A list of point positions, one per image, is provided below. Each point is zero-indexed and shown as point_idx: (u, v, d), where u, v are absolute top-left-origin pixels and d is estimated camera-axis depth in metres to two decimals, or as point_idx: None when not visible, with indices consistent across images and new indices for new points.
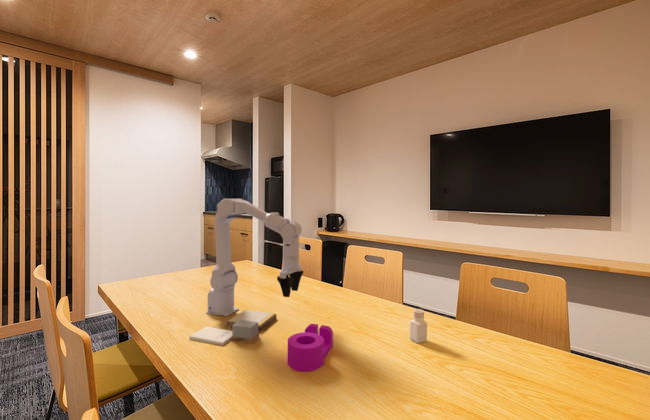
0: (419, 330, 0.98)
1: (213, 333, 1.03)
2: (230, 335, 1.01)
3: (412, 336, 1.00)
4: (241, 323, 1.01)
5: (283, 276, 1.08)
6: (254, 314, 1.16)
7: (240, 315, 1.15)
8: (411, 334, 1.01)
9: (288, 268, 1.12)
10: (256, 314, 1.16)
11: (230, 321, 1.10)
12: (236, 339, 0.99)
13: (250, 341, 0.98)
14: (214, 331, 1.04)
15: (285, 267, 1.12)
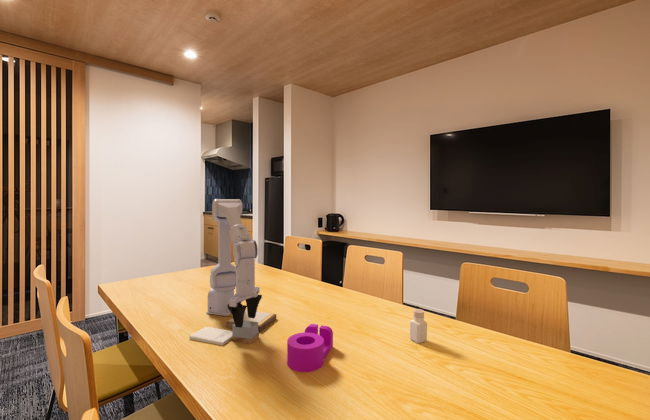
0: (419, 330, 0.98)
1: (213, 333, 1.03)
2: (230, 335, 1.01)
3: (412, 336, 1.00)
4: None
5: (233, 304, 0.93)
6: None
7: None
8: (411, 334, 1.01)
9: (241, 294, 0.97)
10: (256, 314, 1.16)
11: (230, 321, 1.10)
12: (236, 339, 0.99)
13: (250, 341, 0.98)
14: (214, 331, 1.04)
15: (238, 293, 0.98)
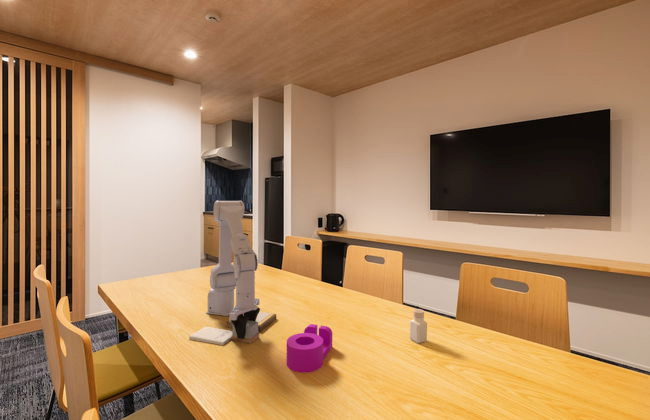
0: (419, 330, 0.98)
1: (213, 333, 1.03)
2: (230, 335, 1.01)
3: (412, 336, 1.00)
4: None
5: (233, 318, 0.93)
6: None
7: None
8: (411, 334, 1.01)
9: (241, 307, 0.98)
10: None
11: (230, 321, 1.10)
12: (236, 339, 0.99)
13: (250, 340, 0.98)
14: (214, 331, 1.04)
15: (238, 305, 0.98)
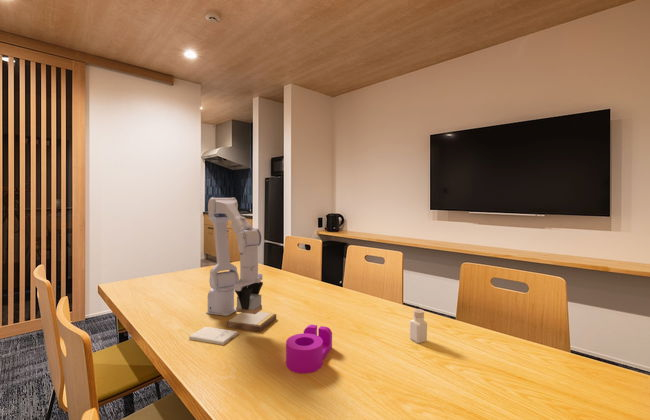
0: (419, 330, 0.98)
1: (213, 332, 1.03)
2: (230, 334, 1.02)
3: (412, 336, 1.00)
4: None
5: (238, 288, 0.99)
6: (254, 314, 1.16)
7: (240, 315, 1.15)
8: (411, 334, 1.01)
9: (245, 279, 1.03)
10: (256, 314, 1.16)
11: (230, 321, 1.10)
12: (240, 310, 1.05)
13: (254, 311, 1.03)
14: (214, 331, 1.04)
15: (242, 278, 1.04)
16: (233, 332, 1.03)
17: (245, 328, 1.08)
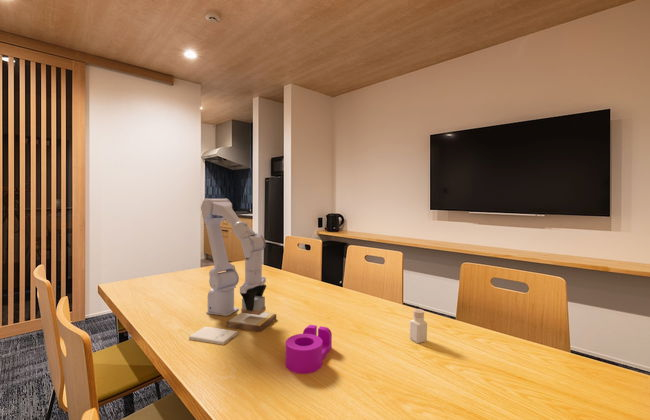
0: (419, 330, 0.98)
1: (213, 332, 1.03)
2: (230, 334, 1.02)
3: (412, 336, 1.00)
4: None
5: (243, 291, 1.06)
6: (254, 314, 1.16)
7: (240, 315, 1.15)
8: (411, 334, 1.01)
9: (250, 282, 1.10)
10: None
11: (230, 321, 1.10)
12: (245, 311, 1.12)
13: (258, 312, 1.10)
14: (214, 331, 1.04)
15: (247, 281, 1.11)
16: (233, 332, 1.03)
17: (245, 328, 1.08)
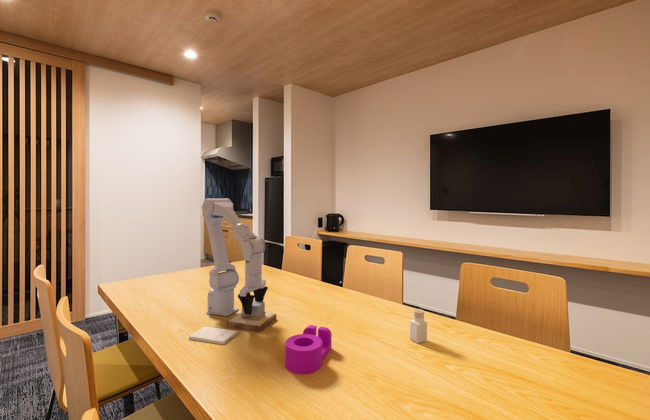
0: (419, 330, 0.98)
1: (213, 332, 1.03)
2: (230, 334, 1.02)
3: (412, 336, 1.00)
4: None
5: (243, 294, 1.06)
6: None
7: (240, 315, 1.15)
8: (411, 334, 1.01)
9: (250, 285, 1.10)
10: None
11: (230, 321, 1.10)
12: (245, 317, 1.12)
13: (258, 318, 1.10)
14: (214, 331, 1.04)
15: (247, 284, 1.11)
16: (233, 332, 1.04)
17: (245, 328, 1.08)
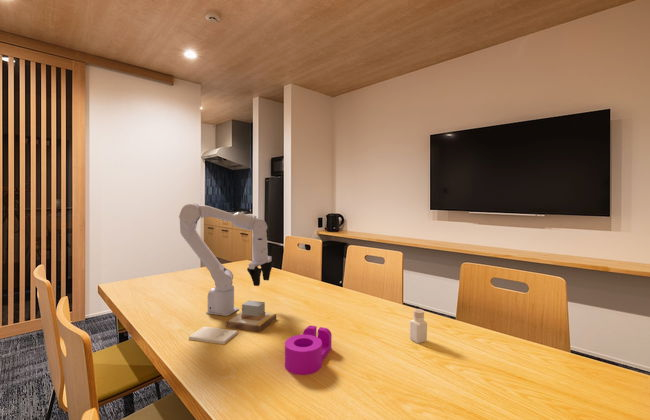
0: (419, 330, 0.98)
1: (213, 332, 1.03)
2: (230, 334, 1.02)
3: (412, 336, 1.00)
4: (250, 303, 1.13)
5: (252, 267, 1.20)
6: None
7: (240, 315, 1.15)
8: (411, 334, 1.01)
9: (257, 260, 1.24)
10: None
11: (230, 321, 1.10)
12: (245, 317, 1.12)
13: (258, 318, 1.10)
14: (213, 330, 1.04)
15: (255, 259, 1.24)
16: (233, 331, 1.04)
17: (245, 328, 1.08)
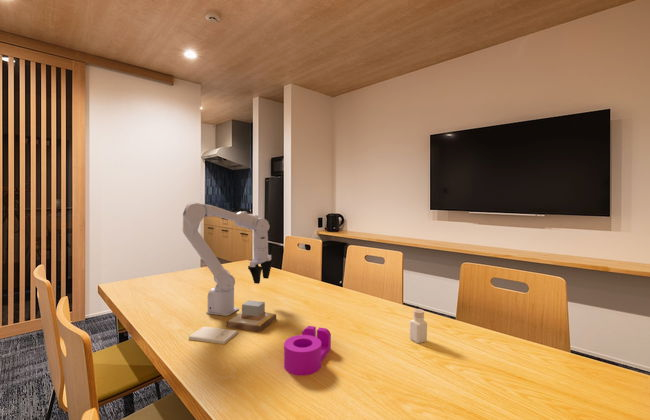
0: (419, 330, 0.98)
1: (212, 332, 1.03)
2: (230, 334, 1.02)
3: (412, 336, 1.00)
4: (250, 303, 1.13)
5: (252, 265, 1.23)
6: None
7: (240, 315, 1.15)
8: (411, 334, 1.01)
9: (258, 258, 1.27)
10: None
11: (230, 321, 1.10)
12: (245, 317, 1.12)
13: (258, 318, 1.10)
14: (213, 330, 1.04)
15: (255, 257, 1.27)
16: (233, 331, 1.04)
17: (245, 328, 1.08)
